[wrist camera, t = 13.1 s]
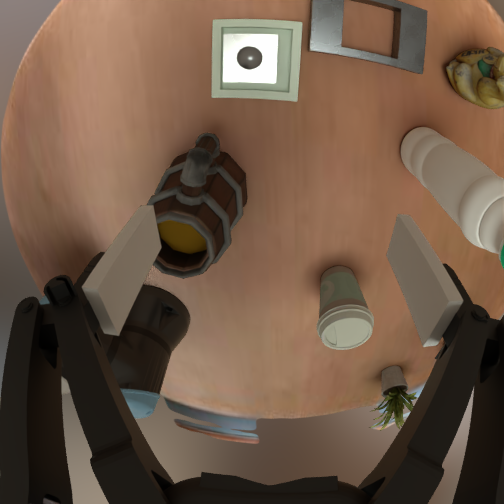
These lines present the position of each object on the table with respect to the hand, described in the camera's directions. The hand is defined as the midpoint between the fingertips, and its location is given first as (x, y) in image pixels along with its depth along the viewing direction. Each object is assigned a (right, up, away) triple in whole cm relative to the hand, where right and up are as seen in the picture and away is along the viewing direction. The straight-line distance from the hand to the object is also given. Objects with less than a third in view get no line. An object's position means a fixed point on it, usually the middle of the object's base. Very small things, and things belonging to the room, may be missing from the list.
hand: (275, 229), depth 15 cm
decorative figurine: (+28, +23, +11) cm, 38 cm away
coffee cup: (+13, -6, +34) cm, 37 cm away
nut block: (-1, +21, +14) cm, 26 cm away
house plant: (+33, -31, +51) cm, 68 cm away
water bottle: (+22, +13, +19) cm, 32 cm away
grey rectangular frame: (+12, +26, +10) cm, 30 cm away
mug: (-7, +10, +25) cm, 27 cm away
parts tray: (-1, +22, +15) cm, 26 cm away
